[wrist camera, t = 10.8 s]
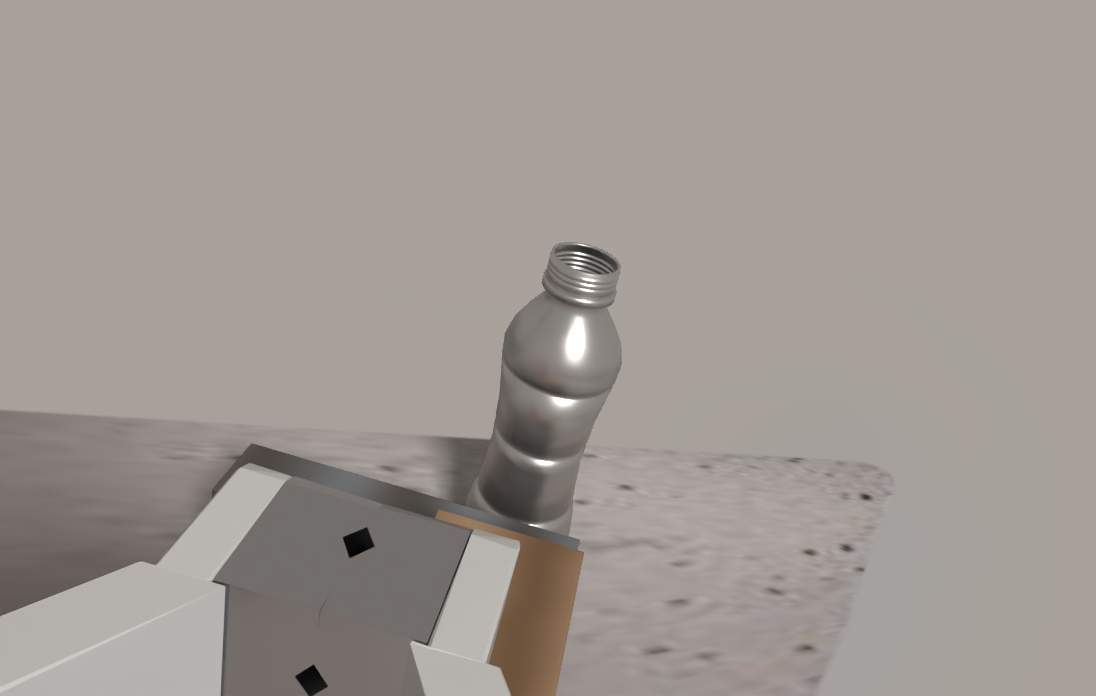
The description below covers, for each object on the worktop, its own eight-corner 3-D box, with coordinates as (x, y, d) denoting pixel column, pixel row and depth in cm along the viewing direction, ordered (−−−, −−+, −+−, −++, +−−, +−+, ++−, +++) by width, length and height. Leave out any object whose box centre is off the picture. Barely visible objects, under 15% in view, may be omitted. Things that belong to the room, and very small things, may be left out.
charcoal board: (209, 590, 44) (212, 489, 41) (246, 540, 48) (251, 443, 44) (537, 689, 43) (567, 595, 40) (550, 631, 47) (579, 539, 43)
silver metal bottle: (532, 503, 56) (607, 229, 46) (579, 578, 51) (674, 289, 41) (441, 519, 53) (501, 228, 43) (482, 600, 48) (560, 292, 38)
